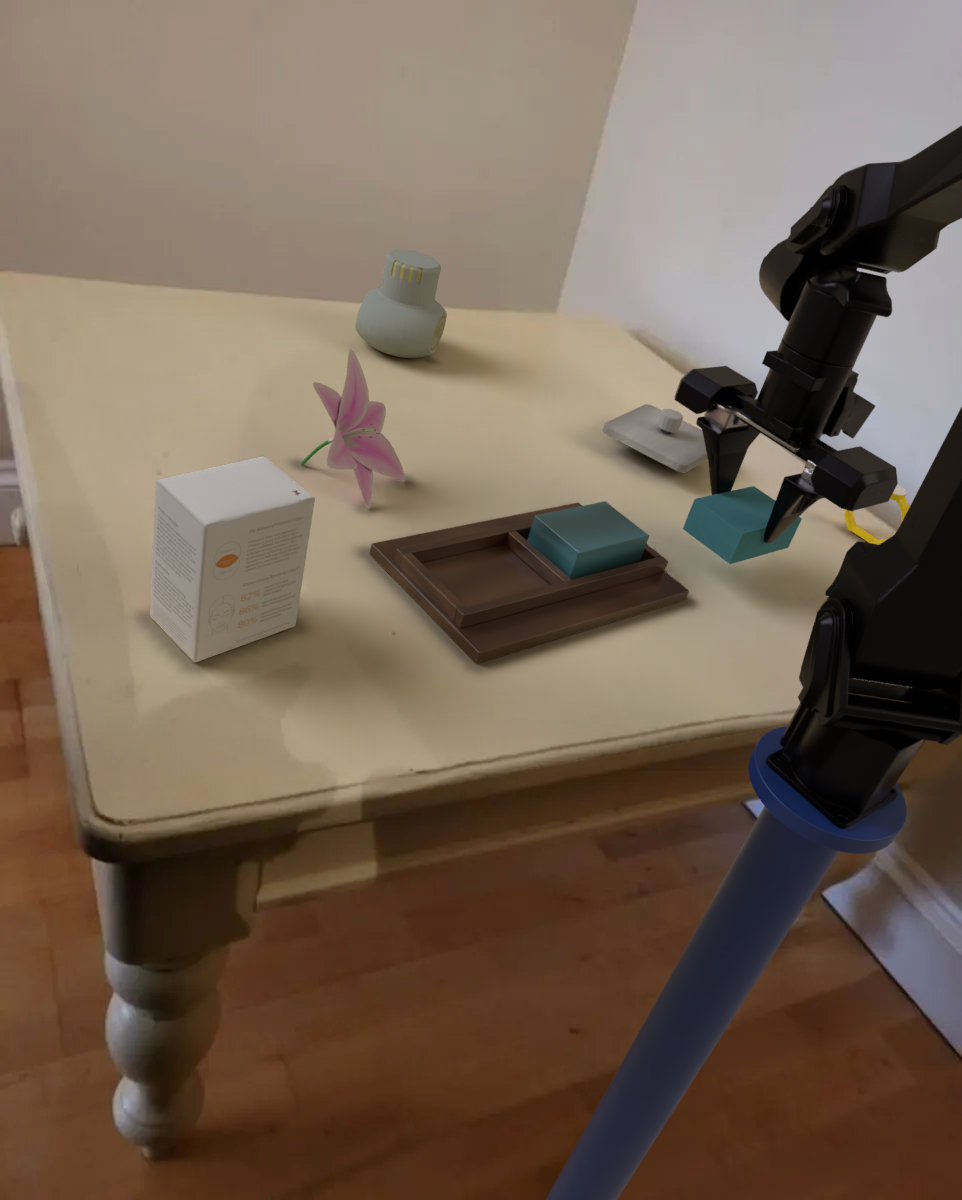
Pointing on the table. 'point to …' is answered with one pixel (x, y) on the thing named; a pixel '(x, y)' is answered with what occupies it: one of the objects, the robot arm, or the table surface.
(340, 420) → the lily
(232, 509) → the small box
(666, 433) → the light switch
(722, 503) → the pad
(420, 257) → the air freshener
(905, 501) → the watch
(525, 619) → the brown two-compartment tray
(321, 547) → the table surface
